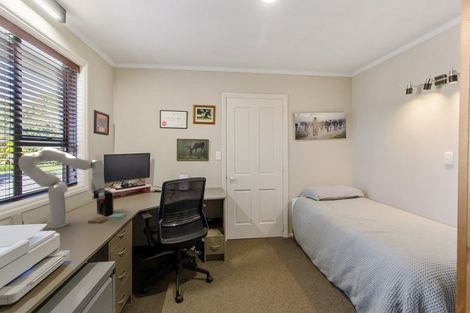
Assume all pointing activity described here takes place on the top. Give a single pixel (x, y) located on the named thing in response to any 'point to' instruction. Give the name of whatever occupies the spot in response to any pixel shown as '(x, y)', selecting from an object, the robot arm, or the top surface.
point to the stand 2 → (117, 216)
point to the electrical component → (106, 204)
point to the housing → (100, 194)
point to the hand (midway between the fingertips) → (98, 197)
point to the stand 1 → (98, 220)
